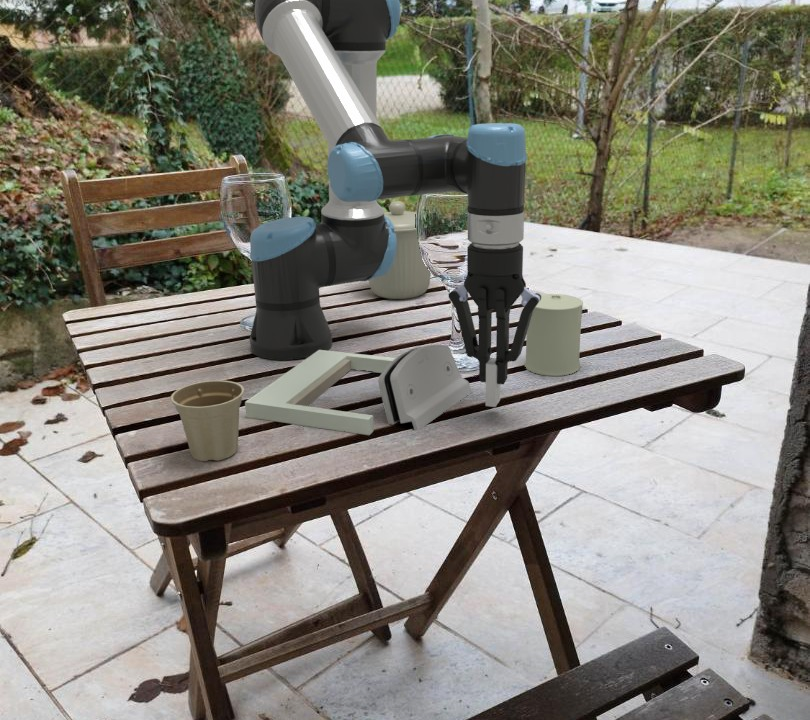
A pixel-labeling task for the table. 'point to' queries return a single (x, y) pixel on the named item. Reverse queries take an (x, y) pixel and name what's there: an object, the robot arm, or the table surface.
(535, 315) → the can
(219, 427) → the flower pot
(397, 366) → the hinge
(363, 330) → the table surface
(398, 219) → the canister
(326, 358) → the beige flat angled piece
